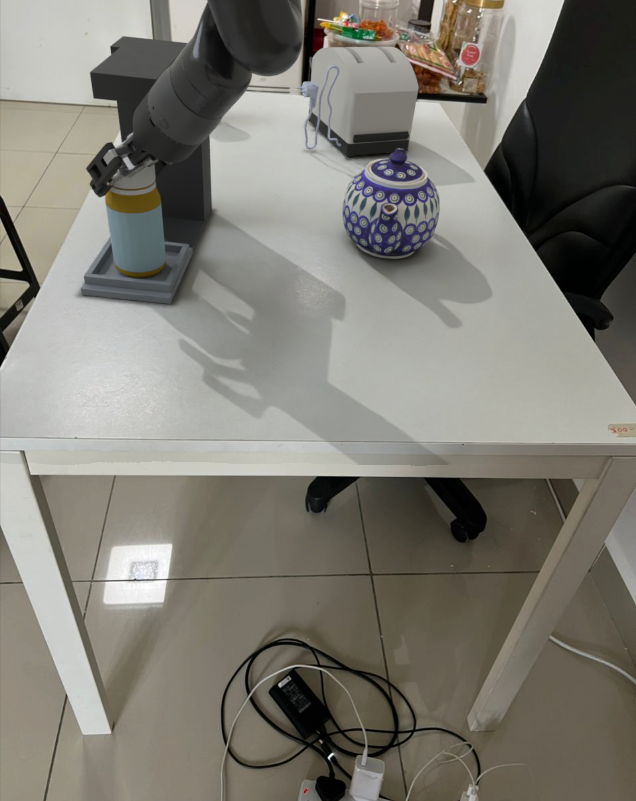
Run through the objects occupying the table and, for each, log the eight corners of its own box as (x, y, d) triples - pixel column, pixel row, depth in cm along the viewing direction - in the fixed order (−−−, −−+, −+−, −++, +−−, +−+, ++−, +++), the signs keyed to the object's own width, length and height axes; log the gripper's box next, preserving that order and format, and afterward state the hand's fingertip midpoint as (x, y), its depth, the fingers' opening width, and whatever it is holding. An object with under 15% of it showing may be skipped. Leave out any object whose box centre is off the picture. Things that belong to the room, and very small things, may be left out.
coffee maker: (170, 304, 86) (153, 104, 69) (81, 294, 86) (43, 92, 69) (212, 210, 108) (206, 41, 91) (140, 202, 108) (122, 32, 91)
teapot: (353, 205, 114) (363, 118, 104) (436, 219, 112) (455, 132, 103) (324, 273, 95) (333, 176, 86) (423, 291, 94) (445, 194, 84)
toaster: (412, 156, 134) (429, 65, 123) (301, 165, 126) (308, 68, 114) (364, 118, 150) (375, 34, 138) (262, 124, 141) (264, 35, 130)
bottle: (131, 285, 87) (117, 177, 77) (106, 263, 91) (89, 157, 81) (175, 271, 91) (168, 166, 81) (149, 250, 94) (139, 147, 84)
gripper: (208, 69, 75) (149, 141, 87) (109, 92, 66) (59, 169, 78) (241, 128, 76) (179, 191, 88) (150, 158, 67) (94, 224, 79)
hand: (123, 180), depth 83 cm, fingers open, 8 cm apart
